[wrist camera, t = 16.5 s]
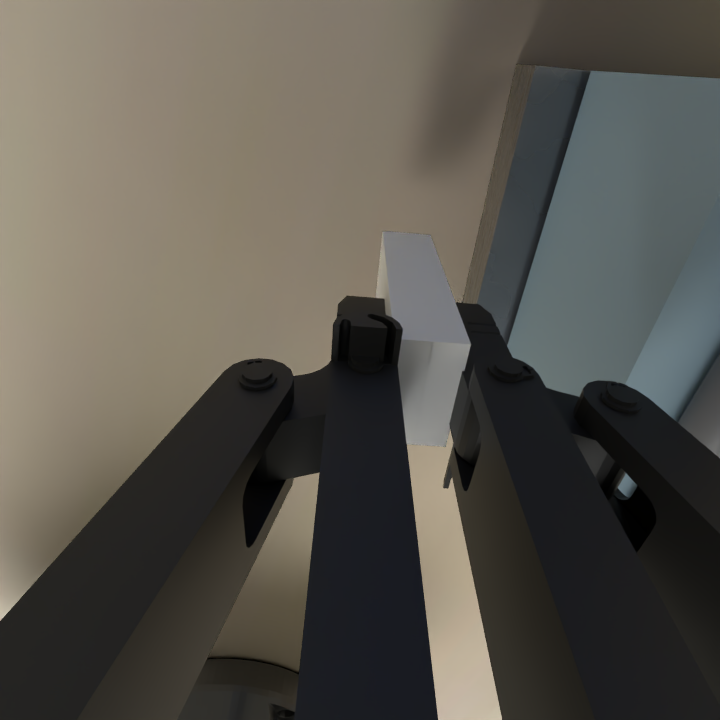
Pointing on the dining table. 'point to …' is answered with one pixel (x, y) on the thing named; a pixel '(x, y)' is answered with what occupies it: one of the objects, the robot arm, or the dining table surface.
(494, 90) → the dining table surface
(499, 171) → the grey l-shaped bracket
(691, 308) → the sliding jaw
